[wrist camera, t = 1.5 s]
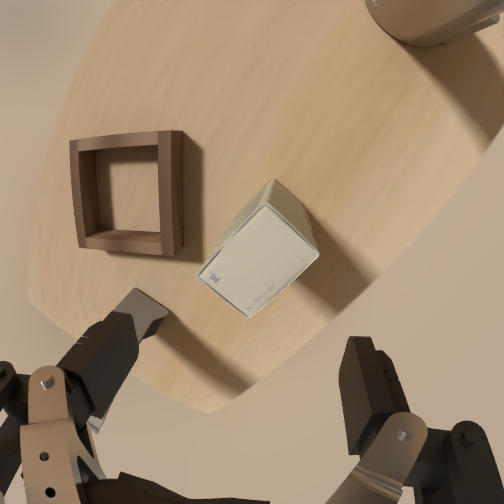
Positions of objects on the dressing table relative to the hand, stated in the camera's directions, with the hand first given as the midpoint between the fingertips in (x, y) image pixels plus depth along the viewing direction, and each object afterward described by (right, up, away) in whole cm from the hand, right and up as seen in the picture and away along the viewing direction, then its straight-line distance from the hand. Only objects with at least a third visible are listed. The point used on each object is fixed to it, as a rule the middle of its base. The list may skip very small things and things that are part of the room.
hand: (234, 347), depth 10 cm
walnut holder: (-12, +10, +18) cm, 24 cm away
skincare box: (+2, +7, +18) cm, 19 cm away
